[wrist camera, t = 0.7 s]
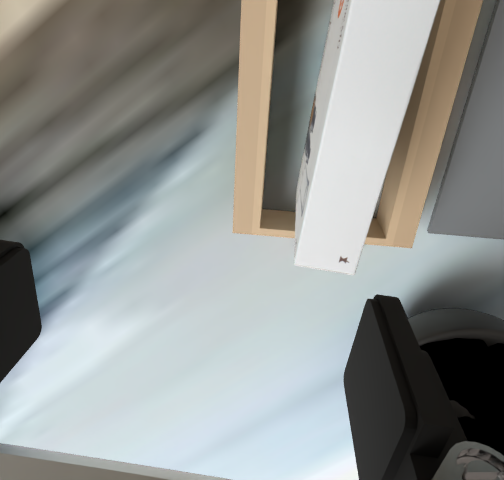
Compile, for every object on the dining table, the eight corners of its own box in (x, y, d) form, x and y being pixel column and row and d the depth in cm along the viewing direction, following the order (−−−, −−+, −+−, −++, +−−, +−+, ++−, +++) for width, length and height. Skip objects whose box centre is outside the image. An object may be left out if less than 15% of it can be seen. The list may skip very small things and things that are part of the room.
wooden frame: (250, -75, 33) (245, -91, 29) (475, -63, 32) (505, -77, 28) (237, 213, 46) (232, 232, 41) (399, 226, 45) (411, 248, 41)
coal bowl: (324, 354, 55) (341, 494, 38) (419, 247, 46) (494, 369, 29) (438, 408, 58) (499, 558, 42) (547, 318, 49) (680, 463, 33)
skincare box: (333, -33, 34) (367, -76, 20) (395, -23, 34) (472, -60, 20) (290, 192, 44) (292, 268, 30) (338, 200, 44) (362, 279, 30)
